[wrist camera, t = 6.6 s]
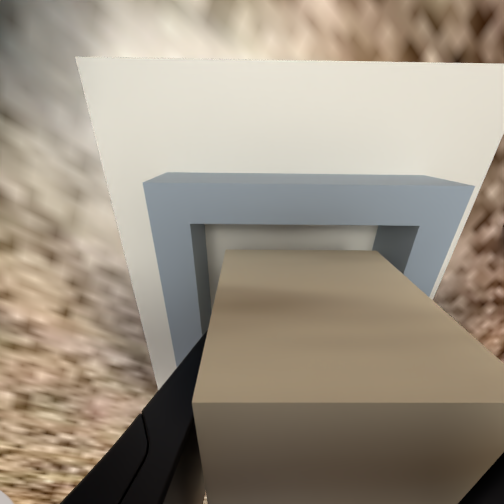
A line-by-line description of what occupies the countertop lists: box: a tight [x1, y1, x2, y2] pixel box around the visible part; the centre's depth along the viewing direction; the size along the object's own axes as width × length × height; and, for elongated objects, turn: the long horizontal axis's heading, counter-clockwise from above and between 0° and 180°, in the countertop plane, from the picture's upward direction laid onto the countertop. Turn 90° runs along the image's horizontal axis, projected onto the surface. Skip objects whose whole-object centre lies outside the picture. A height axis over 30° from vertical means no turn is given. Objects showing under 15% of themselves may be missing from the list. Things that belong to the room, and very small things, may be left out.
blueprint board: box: [75, 57, 504, 390], centre depth 10 cm, size 16×14×3 cm
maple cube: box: [192, 249, 504, 504], centre depth 7 cm, size 5×5×5 cm
